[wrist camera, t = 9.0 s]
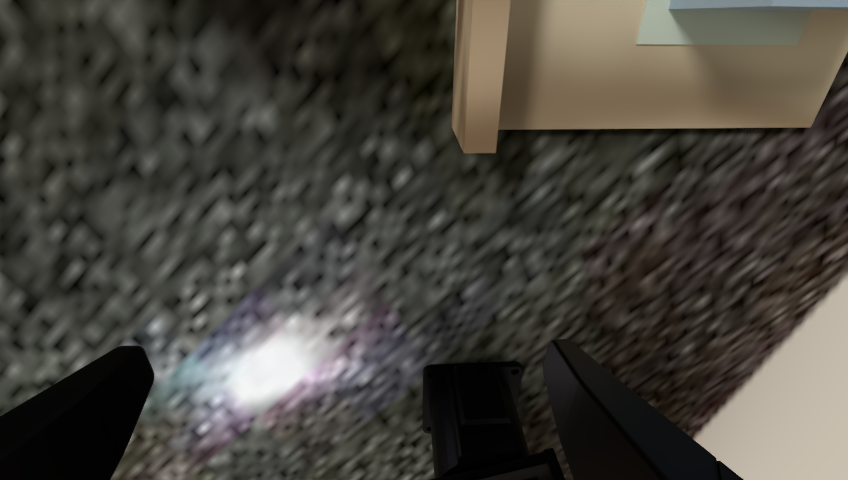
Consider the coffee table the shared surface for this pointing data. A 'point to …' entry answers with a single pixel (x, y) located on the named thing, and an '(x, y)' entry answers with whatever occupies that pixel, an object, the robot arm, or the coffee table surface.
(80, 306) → the coffee table surface
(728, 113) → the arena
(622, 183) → the coffee table surface
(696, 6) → the cube
